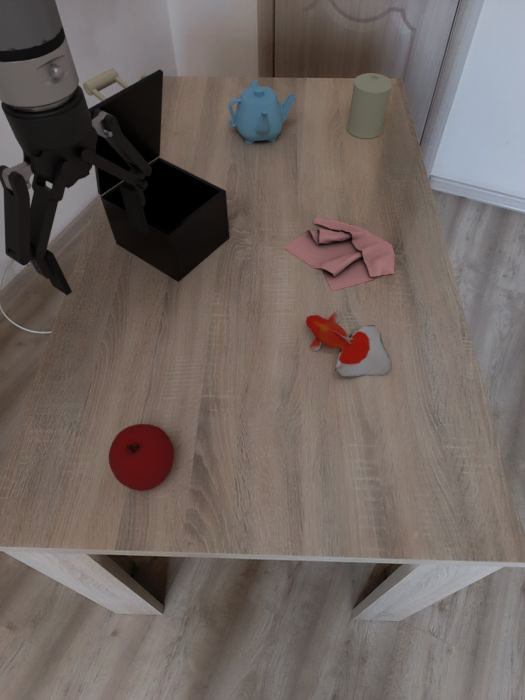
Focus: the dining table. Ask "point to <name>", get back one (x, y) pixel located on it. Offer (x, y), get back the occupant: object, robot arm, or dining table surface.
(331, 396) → the dining table surface
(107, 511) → the dining table surface
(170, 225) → the box
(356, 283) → the cloth
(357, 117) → the can
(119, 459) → the apple
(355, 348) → the fish
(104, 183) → the lid
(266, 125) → the teapot
